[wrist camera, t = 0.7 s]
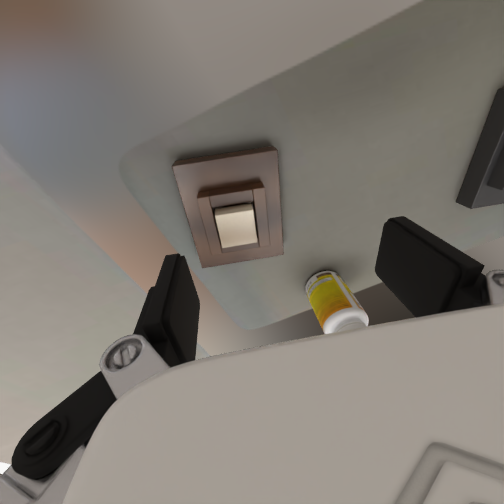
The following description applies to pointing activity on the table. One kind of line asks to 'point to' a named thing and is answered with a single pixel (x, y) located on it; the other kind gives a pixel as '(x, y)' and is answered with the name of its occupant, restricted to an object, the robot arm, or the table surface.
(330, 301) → the supplement bottle
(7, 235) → the table surface
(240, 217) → the key
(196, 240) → the brown stepped switch base
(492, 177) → the stepped wall plate
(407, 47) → the table surface
